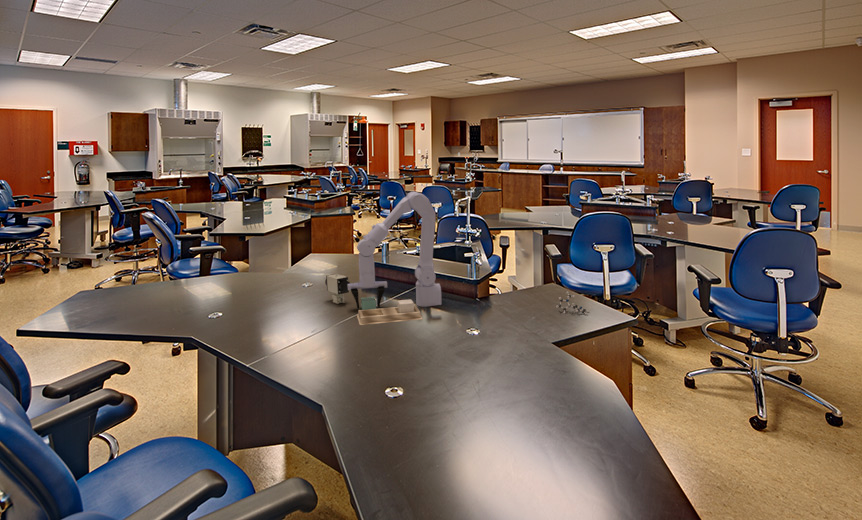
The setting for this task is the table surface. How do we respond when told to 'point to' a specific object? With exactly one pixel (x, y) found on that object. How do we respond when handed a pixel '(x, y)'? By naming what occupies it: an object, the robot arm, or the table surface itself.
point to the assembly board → (386, 315)
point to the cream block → (405, 306)
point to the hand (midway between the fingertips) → (368, 306)
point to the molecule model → (570, 305)
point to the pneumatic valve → (337, 286)
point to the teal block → (368, 303)
